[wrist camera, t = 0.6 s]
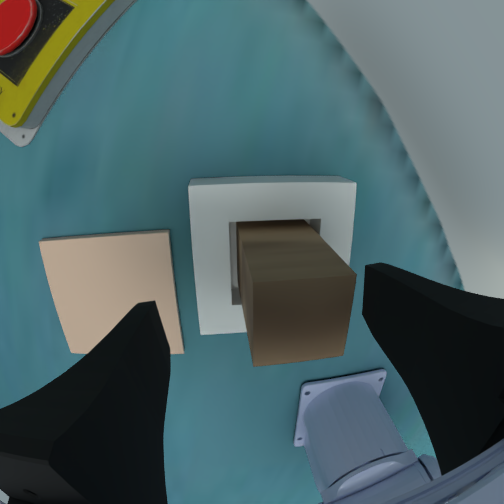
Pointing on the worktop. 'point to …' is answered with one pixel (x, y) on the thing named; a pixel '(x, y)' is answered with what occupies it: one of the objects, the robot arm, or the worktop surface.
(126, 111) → the worktop surface
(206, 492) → the worktop surface
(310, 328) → the peg
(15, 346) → the worktop surface
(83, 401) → the robot arm
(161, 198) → the worktop surface
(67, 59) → the emergency button
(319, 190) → the pocket block
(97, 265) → the pad
